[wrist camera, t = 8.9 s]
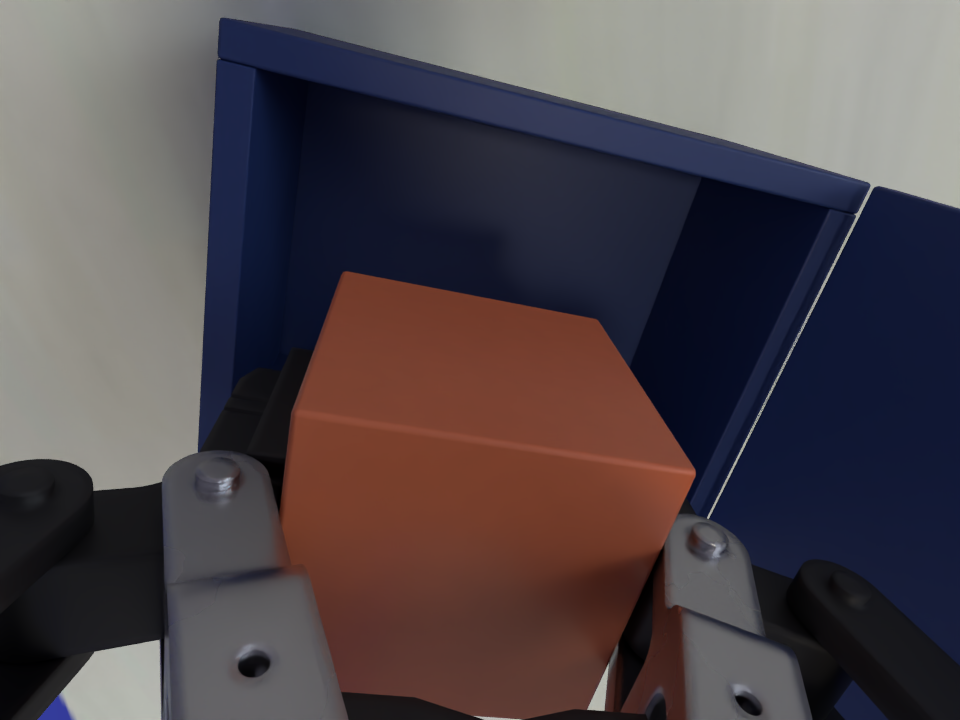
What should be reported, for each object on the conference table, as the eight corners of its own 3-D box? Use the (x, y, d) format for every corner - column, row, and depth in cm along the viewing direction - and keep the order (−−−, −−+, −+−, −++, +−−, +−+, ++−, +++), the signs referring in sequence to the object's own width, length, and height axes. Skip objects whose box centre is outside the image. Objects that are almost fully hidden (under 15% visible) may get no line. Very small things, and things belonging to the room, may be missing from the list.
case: (261, 358, 25) (195, 486, 18) (292, 28, 20) (218, 16, 13) (619, 416, 28) (691, 549, 20) (726, 140, 23) (873, 183, 15)
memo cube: (311, 486, 13) (256, 702, 9) (341, 268, 11) (290, 410, 7) (532, 515, 14) (582, 726, 10) (599, 318, 12) (700, 472, 8)
